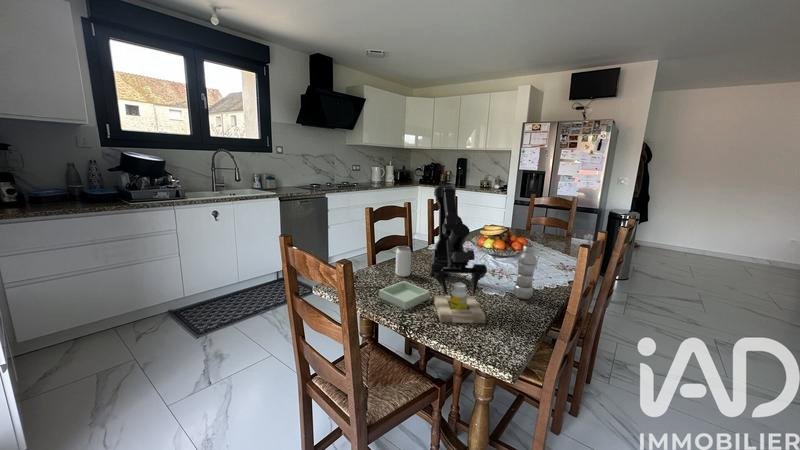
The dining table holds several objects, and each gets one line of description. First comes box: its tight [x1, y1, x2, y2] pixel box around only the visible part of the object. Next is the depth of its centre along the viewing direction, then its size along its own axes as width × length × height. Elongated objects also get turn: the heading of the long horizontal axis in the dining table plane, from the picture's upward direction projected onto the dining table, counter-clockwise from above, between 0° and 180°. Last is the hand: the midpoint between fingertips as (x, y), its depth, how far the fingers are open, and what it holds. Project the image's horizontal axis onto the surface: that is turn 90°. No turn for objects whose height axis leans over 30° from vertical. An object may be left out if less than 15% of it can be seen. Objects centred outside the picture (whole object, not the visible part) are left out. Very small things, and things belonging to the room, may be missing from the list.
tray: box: [378, 280, 431, 311], centre depth 113 cm, size 13×13×3 cm
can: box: [395, 245, 412, 278], centre depth 135 cm, size 6×6×12 cm
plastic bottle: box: [513, 244, 538, 300], centre depth 115 cm, size 6×7×20 cm
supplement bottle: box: [450, 281, 469, 310], centre depth 104 cm, size 5×5×10 cm
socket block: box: [433, 295, 486, 324], centre depth 104 cm, size 14×14×2 cm
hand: (460, 294), depth 102 cm, fingers open, 9 cm apart
